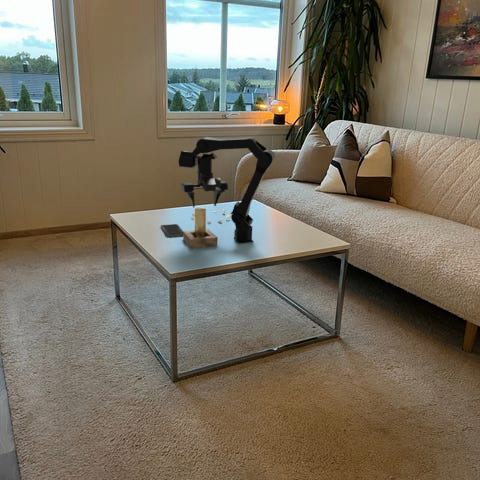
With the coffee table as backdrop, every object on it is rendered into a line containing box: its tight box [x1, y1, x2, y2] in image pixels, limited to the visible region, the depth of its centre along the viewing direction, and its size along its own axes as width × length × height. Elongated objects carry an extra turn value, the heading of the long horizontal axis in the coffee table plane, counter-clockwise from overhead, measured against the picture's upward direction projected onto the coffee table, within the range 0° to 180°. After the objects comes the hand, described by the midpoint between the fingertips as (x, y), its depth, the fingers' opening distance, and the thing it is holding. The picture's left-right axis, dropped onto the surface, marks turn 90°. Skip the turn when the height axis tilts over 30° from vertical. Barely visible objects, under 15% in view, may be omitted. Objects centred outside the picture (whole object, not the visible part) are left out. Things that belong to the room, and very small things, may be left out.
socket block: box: [182, 228, 218, 249], centre depth 191 cm, size 11×11×4 cm
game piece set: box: [190, 206, 232, 225], centre depth 225 cm, size 19×20×4 cm
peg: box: [194, 207, 207, 238], centre depth 189 cm, size 4×4×14 cm
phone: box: [160, 223, 183, 238], centre depth 204 cm, size 8×1×15 cm
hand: (204, 206), depth 195 cm, fingers open, 9 cm apart
